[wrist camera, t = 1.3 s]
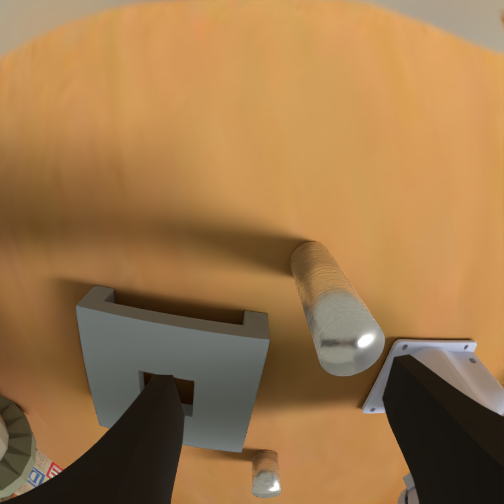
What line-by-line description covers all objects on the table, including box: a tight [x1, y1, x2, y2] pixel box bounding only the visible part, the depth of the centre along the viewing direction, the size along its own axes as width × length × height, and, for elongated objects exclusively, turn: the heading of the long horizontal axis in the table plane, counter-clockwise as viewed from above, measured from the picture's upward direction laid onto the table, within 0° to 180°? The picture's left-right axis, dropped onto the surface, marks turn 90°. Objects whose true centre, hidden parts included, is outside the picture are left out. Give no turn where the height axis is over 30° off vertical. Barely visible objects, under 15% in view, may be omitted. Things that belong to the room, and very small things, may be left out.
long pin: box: [290, 241, 385, 376], centre depth 15 cm, size 3×3×9 cm
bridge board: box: [76, 285, 270, 452], centre depth 21 cm, size 12×12×3 cm
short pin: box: [252, 450, 281, 498], centre depth 24 cm, size 3×3×4 cm
